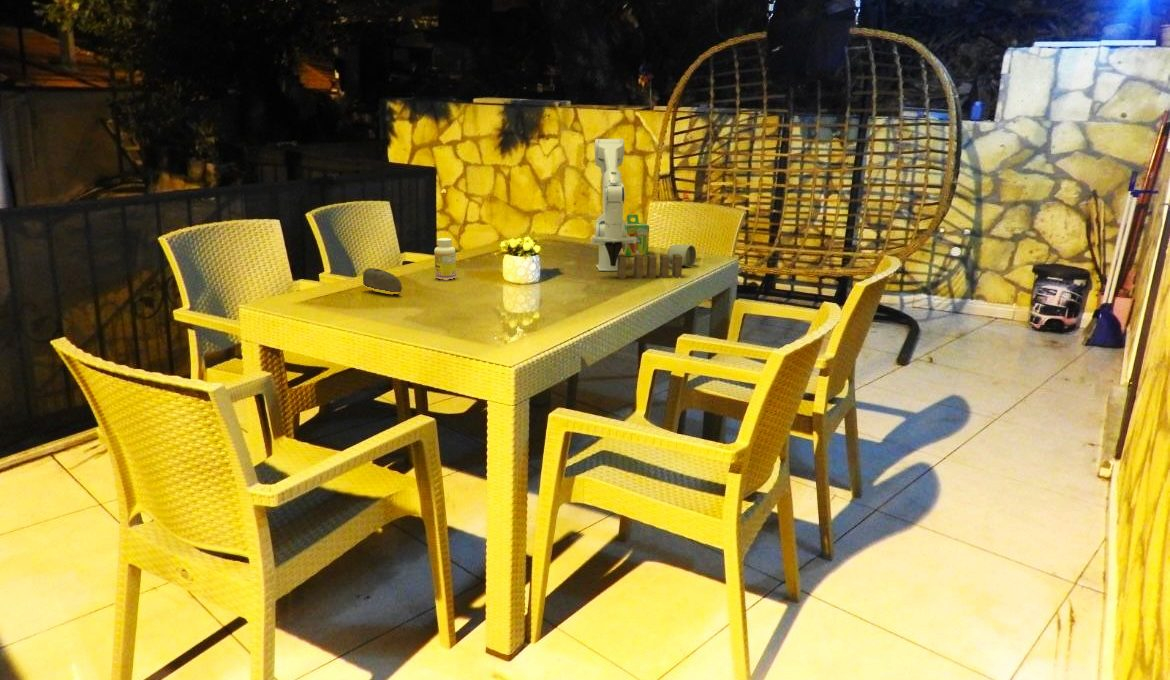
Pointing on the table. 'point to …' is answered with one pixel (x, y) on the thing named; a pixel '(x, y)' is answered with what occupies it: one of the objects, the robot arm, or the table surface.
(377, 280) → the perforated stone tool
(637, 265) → the tile
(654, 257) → the tile
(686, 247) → the grey hollow cylinder
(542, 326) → the table surface
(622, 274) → the tile
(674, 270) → the tile
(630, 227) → the chalk box
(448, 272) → the supplement bottle
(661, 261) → the tile
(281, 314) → the table surface
